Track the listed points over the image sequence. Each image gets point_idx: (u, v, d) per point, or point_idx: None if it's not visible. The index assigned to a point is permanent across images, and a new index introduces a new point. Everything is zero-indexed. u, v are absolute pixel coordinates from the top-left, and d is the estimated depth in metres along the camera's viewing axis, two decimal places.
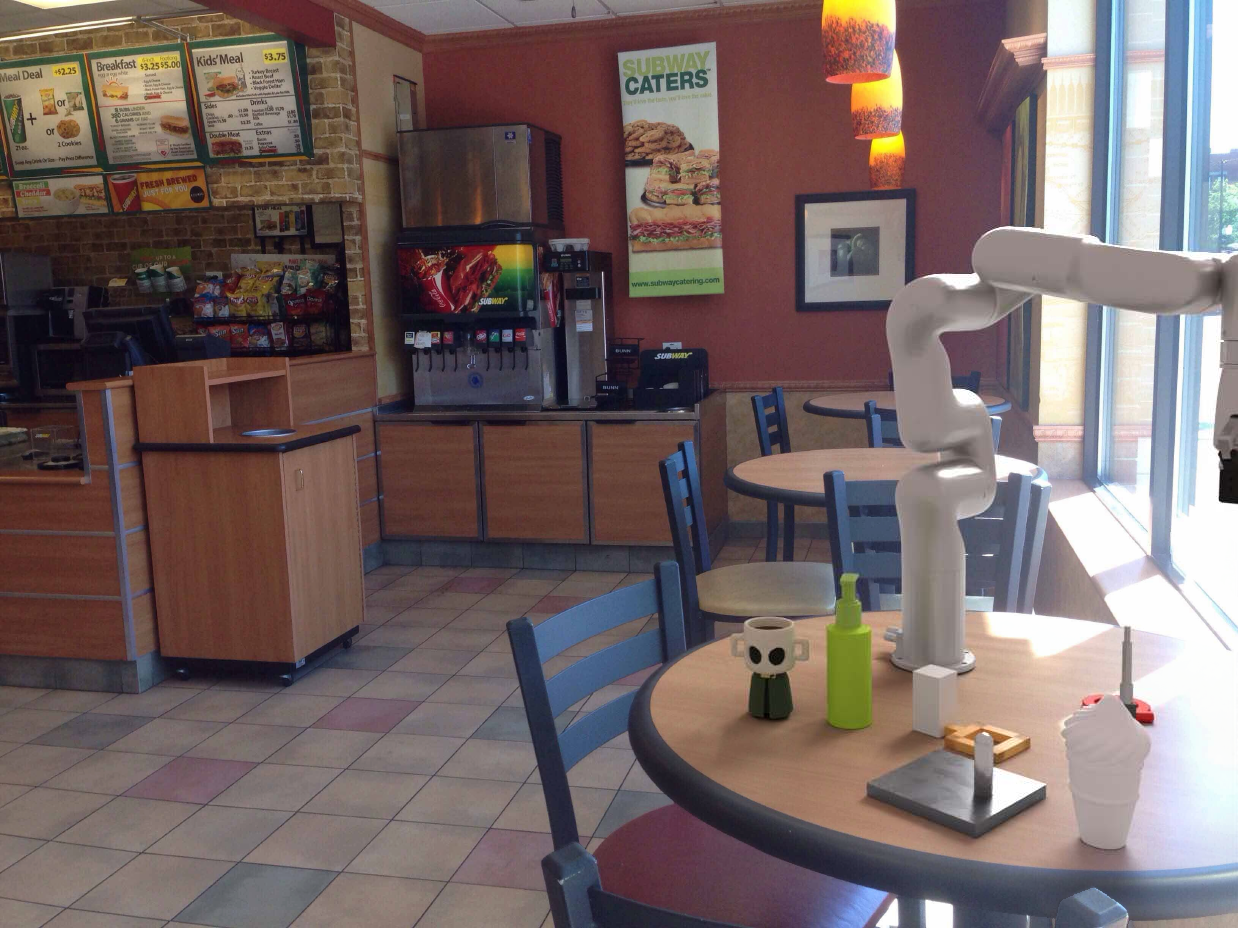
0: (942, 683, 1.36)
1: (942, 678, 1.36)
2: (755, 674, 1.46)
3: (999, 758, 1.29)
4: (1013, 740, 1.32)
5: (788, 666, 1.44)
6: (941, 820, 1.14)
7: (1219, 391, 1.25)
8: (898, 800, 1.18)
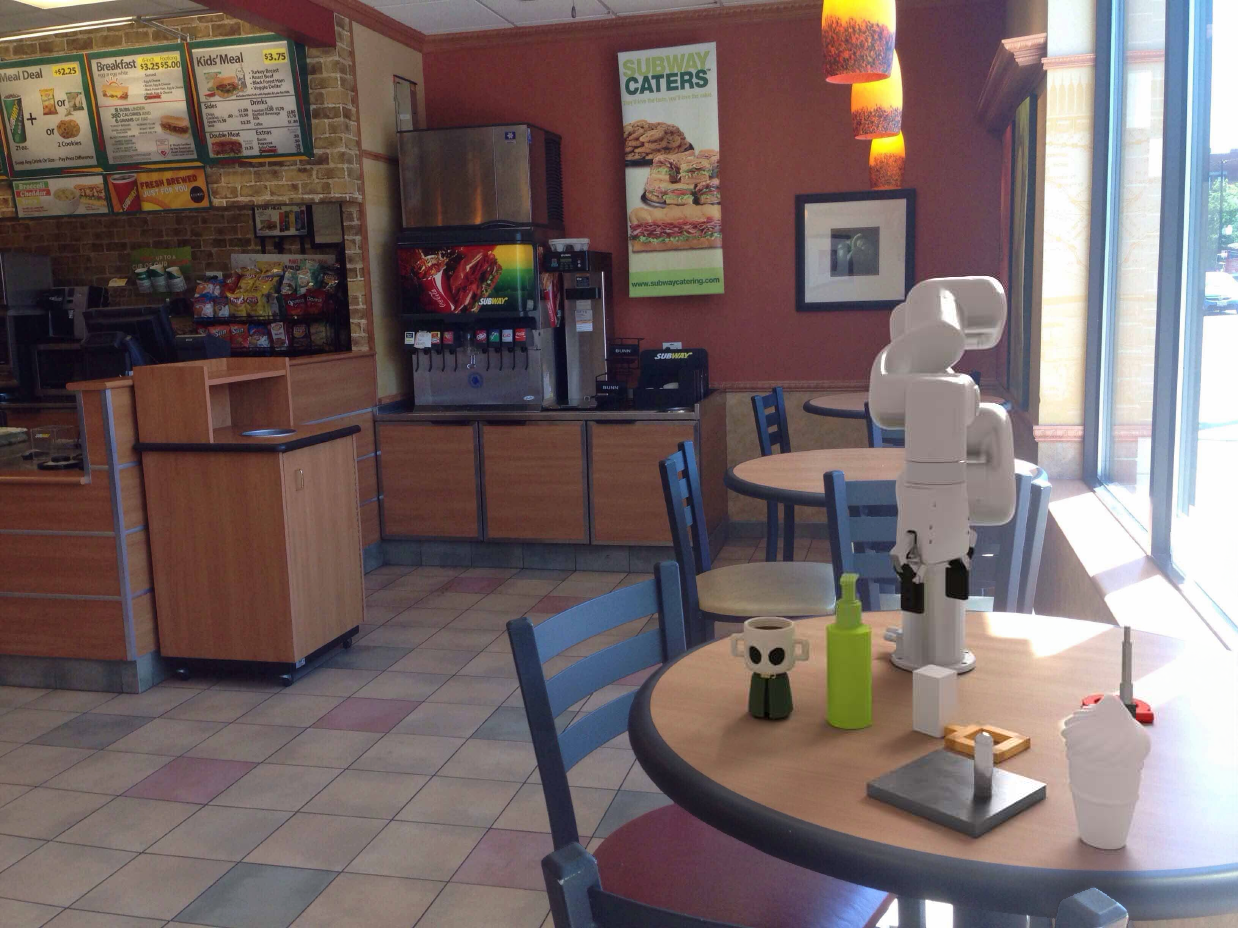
0: (942, 683, 1.36)
1: (942, 678, 1.36)
2: (755, 674, 1.46)
3: (999, 758, 1.29)
4: (1013, 740, 1.32)
5: (788, 666, 1.44)
6: (941, 820, 1.14)
7: (899, 507, 1.34)
8: (898, 800, 1.18)
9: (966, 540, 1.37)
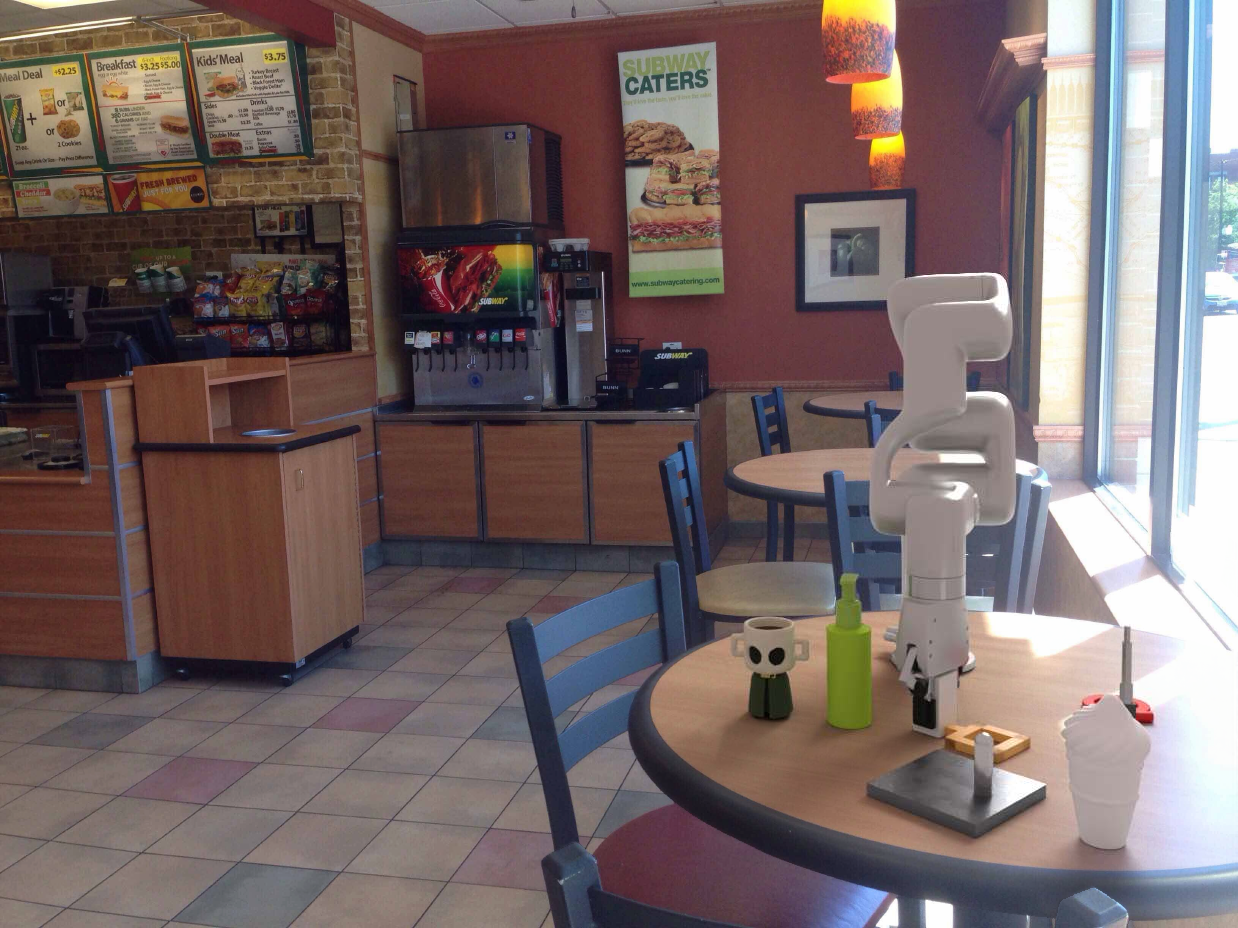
0: (942, 683, 1.36)
1: (942, 678, 1.36)
2: (755, 674, 1.46)
3: (999, 758, 1.29)
4: (1013, 740, 1.32)
5: (788, 666, 1.44)
6: (941, 820, 1.14)
7: (899, 619, 1.37)
8: (898, 800, 1.18)
9: (965, 649, 1.39)
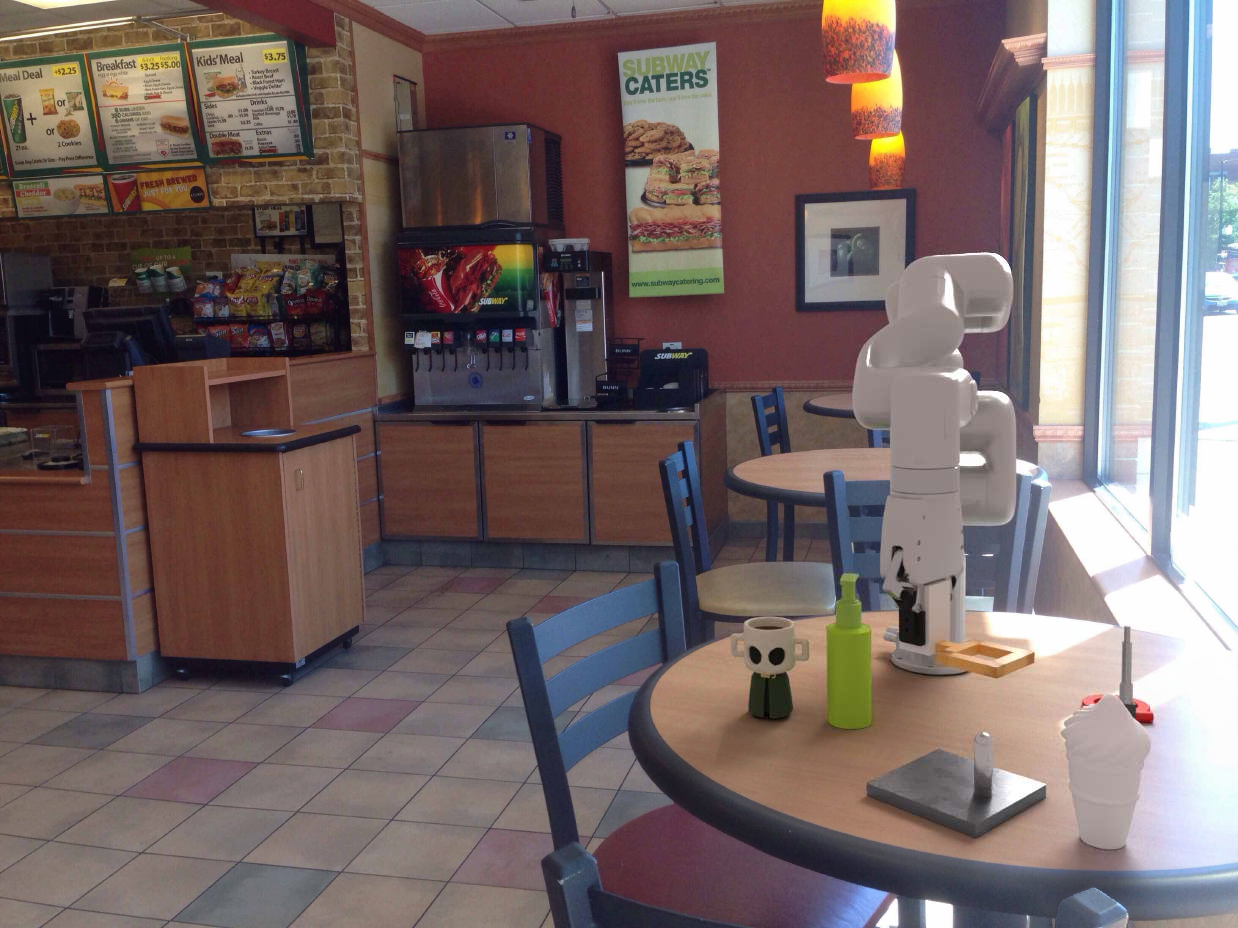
0: (933, 593, 1.18)
1: (933, 586, 1.18)
2: (755, 674, 1.46)
3: (998, 673, 1.11)
4: (1014, 655, 1.14)
5: (788, 666, 1.44)
6: (941, 820, 1.14)
7: (883, 519, 1.19)
8: (898, 800, 1.18)
9: (959, 556, 1.21)
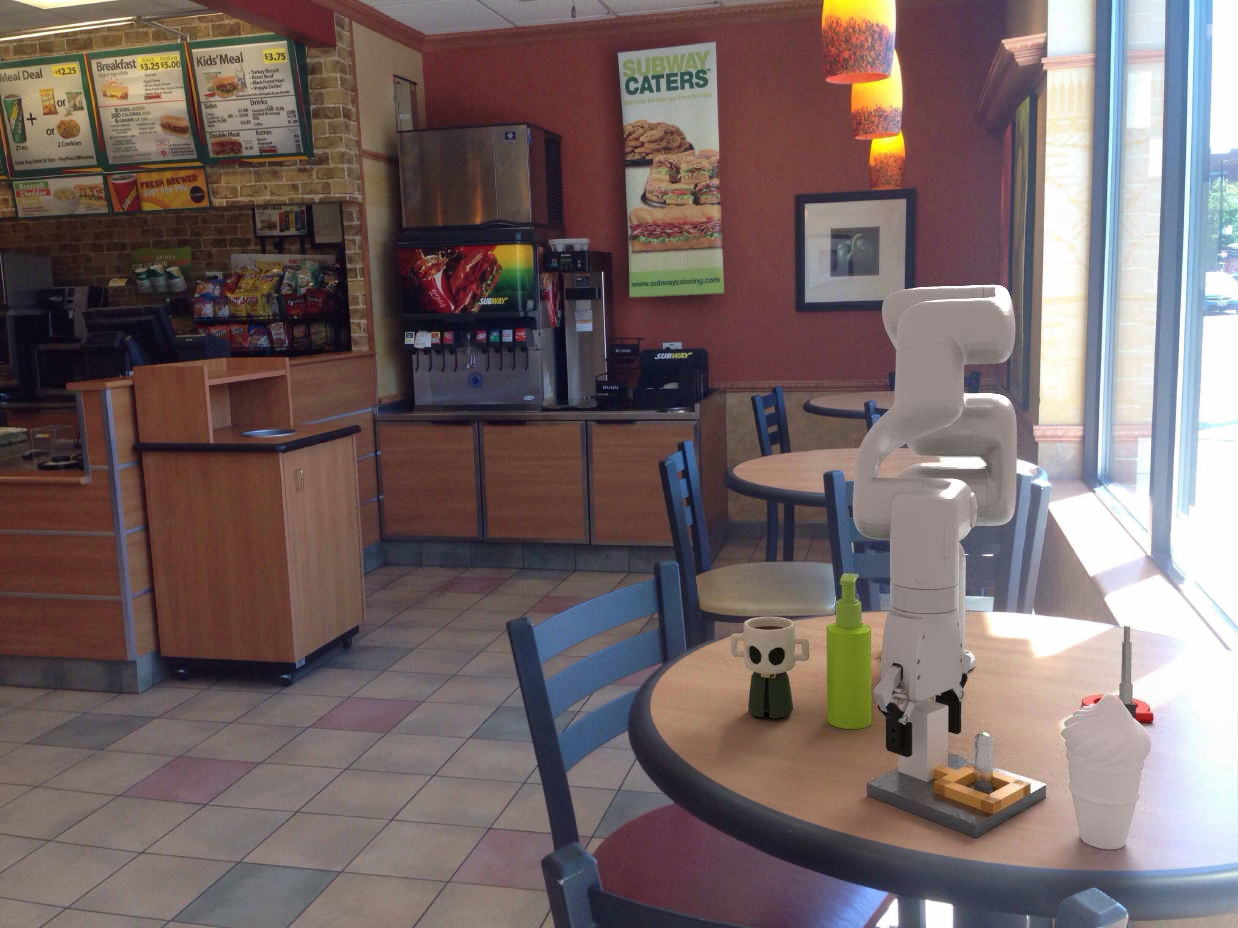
0: (931, 720, 1.20)
1: (931, 714, 1.20)
2: (755, 674, 1.46)
3: (995, 808, 1.13)
4: (1011, 787, 1.16)
5: (788, 666, 1.44)
6: (941, 820, 1.14)
7: (883, 636, 1.20)
8: (898, 800, 1.18)
9: (959, 669, 1.22)
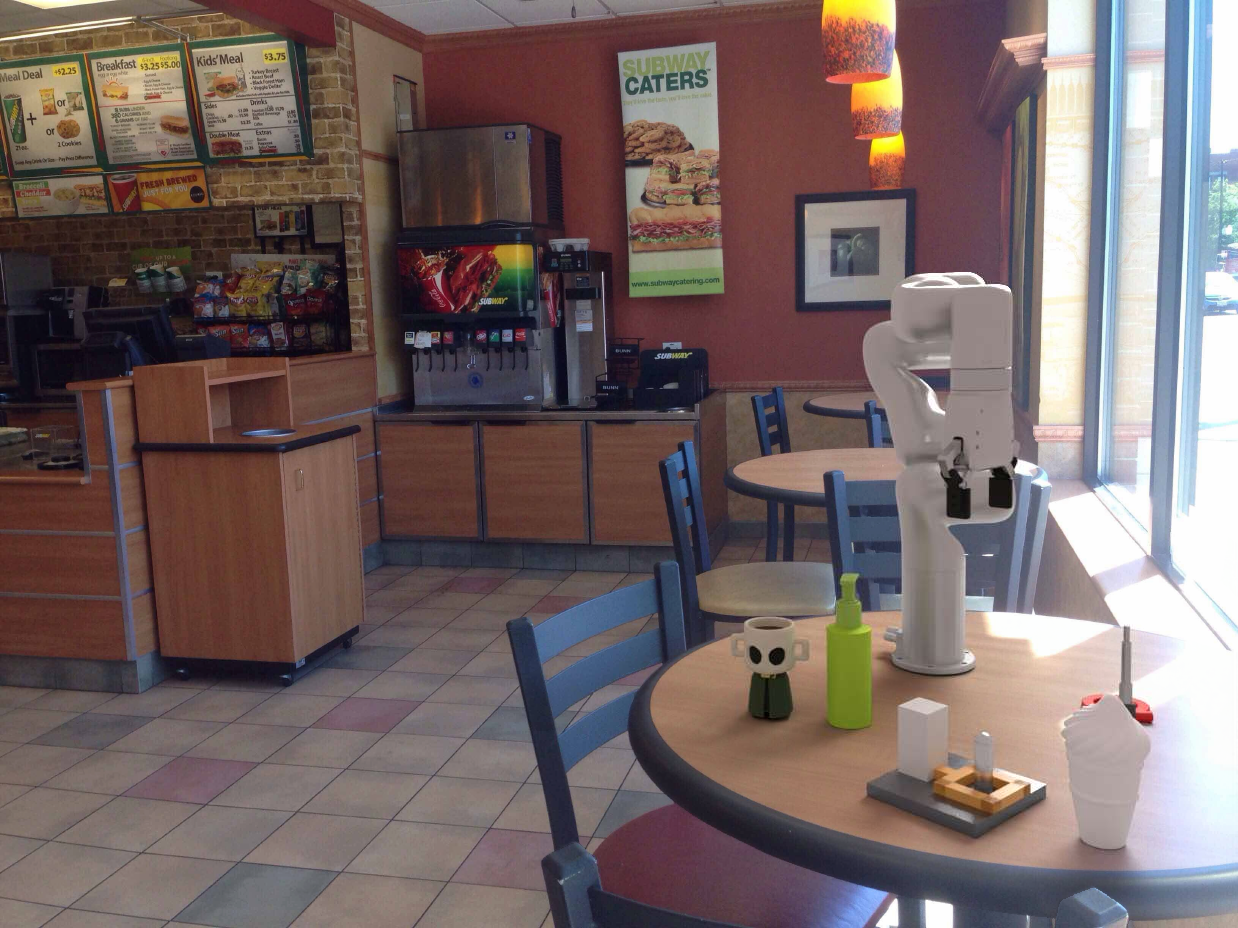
0: (931, 720, 1.20)
1: (931, 714, 1.20)
2: (755, 674, 1.46)
3: (995, 808, 1.13)
4: (1011, 787, 1.16)
5: (788, 666, 1.44)
6: (941, 820, 1.14)
7: (945, 415, 1.36)
8: (898, 800, 1.18)
9: (1011, 448, 1.38)
